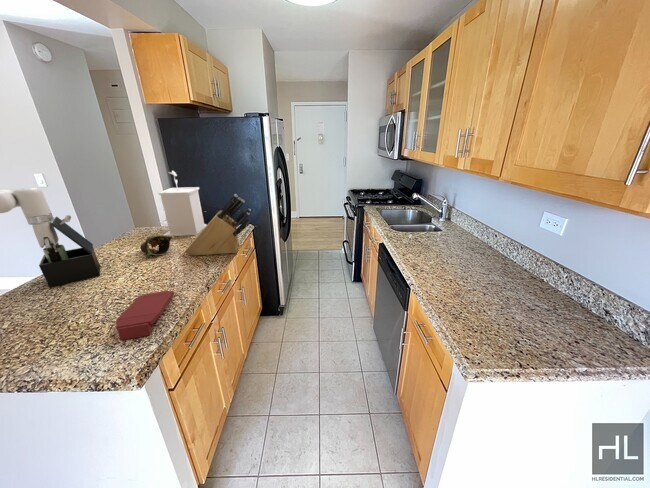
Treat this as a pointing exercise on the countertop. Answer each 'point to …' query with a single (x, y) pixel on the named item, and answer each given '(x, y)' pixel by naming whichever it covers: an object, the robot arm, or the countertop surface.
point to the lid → (72, 233)
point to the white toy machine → (182, 210)
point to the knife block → (221, 231)
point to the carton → (142, 315)
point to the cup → (59, 248)
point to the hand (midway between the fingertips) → (57, 257)
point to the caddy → (70, 268)
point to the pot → (156, 240)
